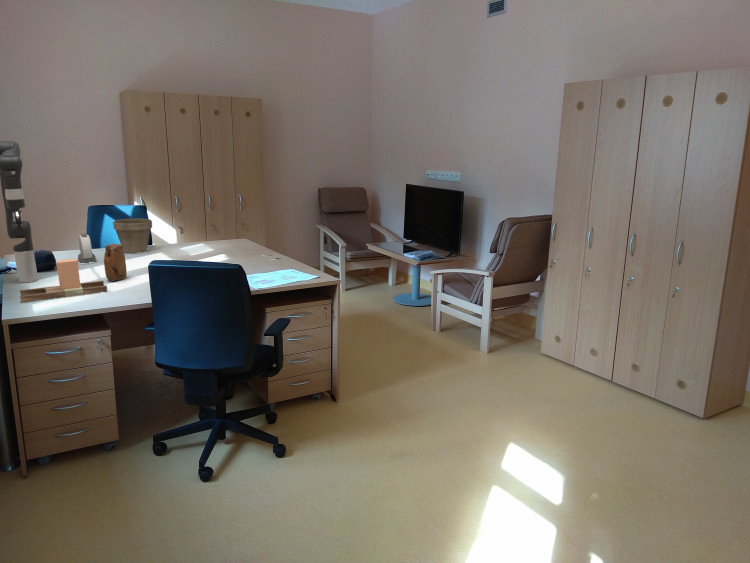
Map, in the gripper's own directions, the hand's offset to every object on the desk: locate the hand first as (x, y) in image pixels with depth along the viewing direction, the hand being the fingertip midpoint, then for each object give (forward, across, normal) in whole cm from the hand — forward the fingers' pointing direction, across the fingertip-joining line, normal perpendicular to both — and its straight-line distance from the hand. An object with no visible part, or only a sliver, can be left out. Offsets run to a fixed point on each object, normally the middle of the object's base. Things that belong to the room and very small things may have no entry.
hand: (20, 232), depth 278 cm
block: (+31, +6, -42) cm, 53 cm away
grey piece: (+31, +65, -33) cm, 79 cm away
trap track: (+31, -12, -15) cm, 36 cm away
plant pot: (+31, +85, -66) cm, 112 cm away
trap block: (+28, -12, -18) cm, 35 cm away
